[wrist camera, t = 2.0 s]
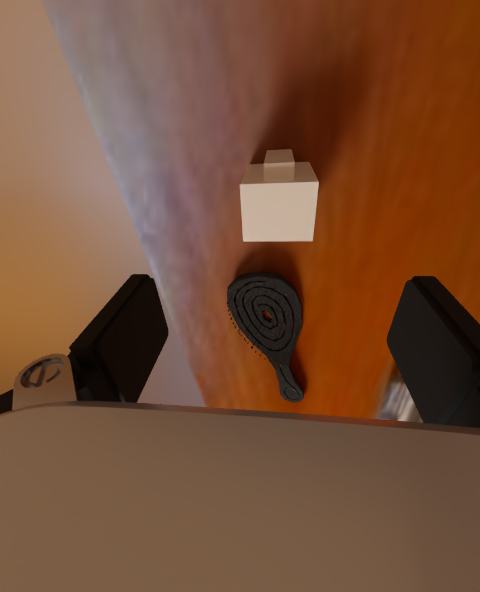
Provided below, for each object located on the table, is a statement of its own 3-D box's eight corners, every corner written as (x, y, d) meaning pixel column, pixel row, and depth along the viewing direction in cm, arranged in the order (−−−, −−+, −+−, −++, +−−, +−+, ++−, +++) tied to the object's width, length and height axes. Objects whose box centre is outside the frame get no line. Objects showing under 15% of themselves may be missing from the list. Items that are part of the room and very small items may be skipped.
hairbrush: (269, 416, 41) (208, 290, 27) (270, 394, 44) (214, 270, 30) (325, 412, 39) (291, 273, 25) (321, 390, 42) (289, 253, 28)
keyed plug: (249, 151, 22) (238, 167, 17) (310, 148, 22) (320, 164, 16) (251, 210, 25) (243, 241, 20) (305, 209, 25) (312, 241, 19)
